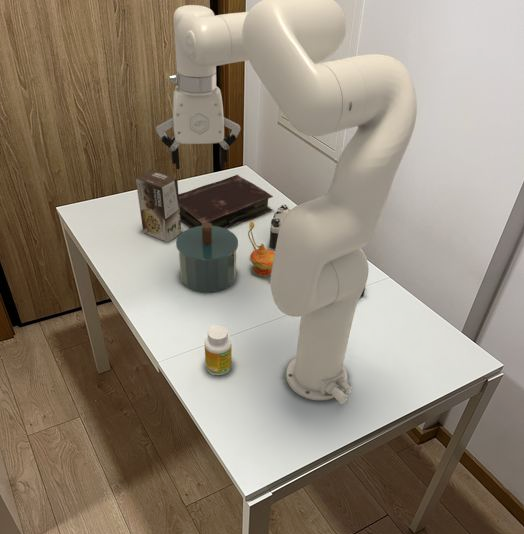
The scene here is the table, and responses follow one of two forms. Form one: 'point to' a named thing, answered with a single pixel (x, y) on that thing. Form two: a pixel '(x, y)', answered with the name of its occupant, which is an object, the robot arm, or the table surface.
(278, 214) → the camera
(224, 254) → the lid
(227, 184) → the diary
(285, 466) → the table surface
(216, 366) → the supplement bottle
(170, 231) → the coffee box
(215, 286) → the tin
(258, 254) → the magic lamp
